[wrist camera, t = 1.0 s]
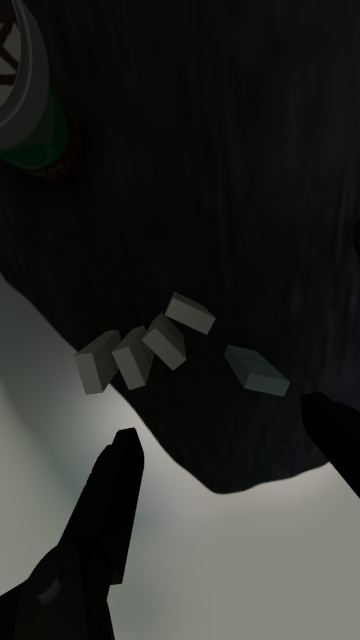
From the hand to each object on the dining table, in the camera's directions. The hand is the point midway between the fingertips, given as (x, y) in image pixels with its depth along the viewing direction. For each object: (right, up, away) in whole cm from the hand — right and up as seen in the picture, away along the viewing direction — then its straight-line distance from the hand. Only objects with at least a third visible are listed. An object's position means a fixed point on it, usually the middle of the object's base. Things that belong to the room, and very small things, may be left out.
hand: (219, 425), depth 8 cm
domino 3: (-4, +4, +20) cm, 20 cm away
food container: (-18, +25, +15) cm, 34 cm away
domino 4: (-1, +7, +19) cm, 20 cm away
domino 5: (+8, -1, +21) cm, 22 cm away
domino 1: (-12, +1, +20) cm, 24 cm away
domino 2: (-8, +2, +20) cm, 22 cm away
